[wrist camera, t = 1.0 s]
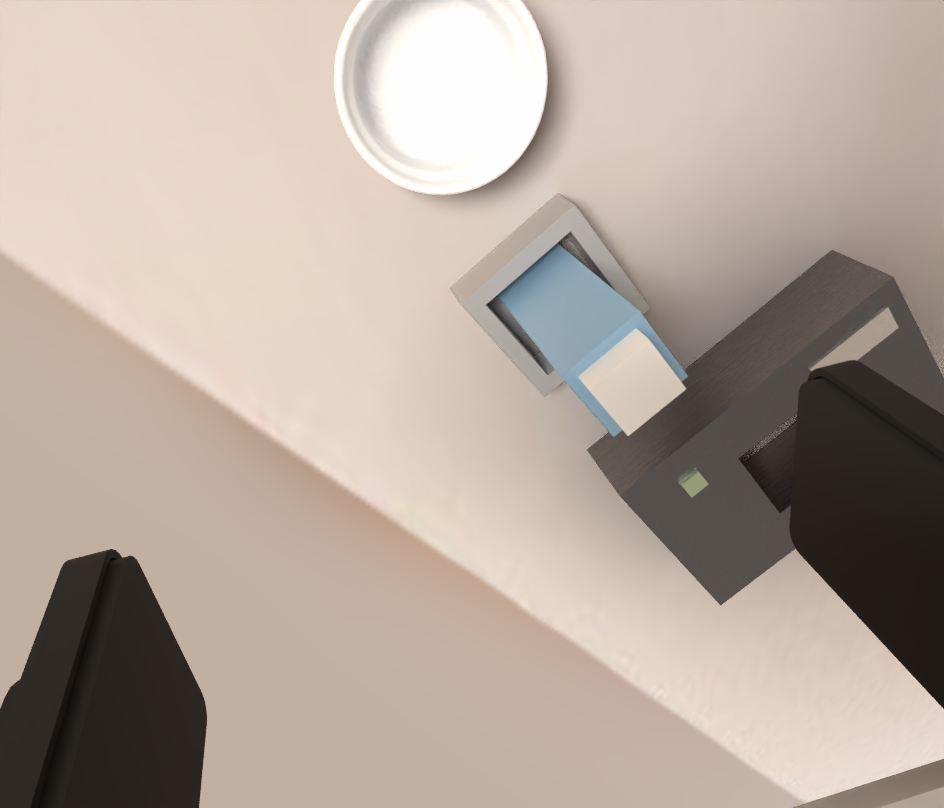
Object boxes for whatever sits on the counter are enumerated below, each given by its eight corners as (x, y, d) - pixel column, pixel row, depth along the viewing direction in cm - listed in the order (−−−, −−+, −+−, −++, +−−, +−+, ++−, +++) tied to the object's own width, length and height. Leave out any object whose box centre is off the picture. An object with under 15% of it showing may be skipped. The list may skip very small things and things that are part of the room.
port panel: (832, 250, 44) (897, 278, 39) (904, 384, 50) (968, 422, 45) (587, 450, 46) (621, 498, 42) (683, 555, 52) (723, 608, 48)
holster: (557, 193, 39) (574, 204, 37) (631, 292, 42) (650, 308, 40) (450, 288, 40) (460, 304, 38) (530, 377, 43) (544, 397, 41)
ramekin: (515, 174, 38) (542, 193, 34) (333, 179, 36) (340, 199, 32) (524, -32, 34) (556, -37, 30) (320, -39, 32) (327, -45, 28)
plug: (551, 237, 40) (652, 321, 29) (592, 291, 42) (702, 388, 31) (492, 289, 40) (571, 389, 30) (536, 339, 42) (625, 451, 32)
